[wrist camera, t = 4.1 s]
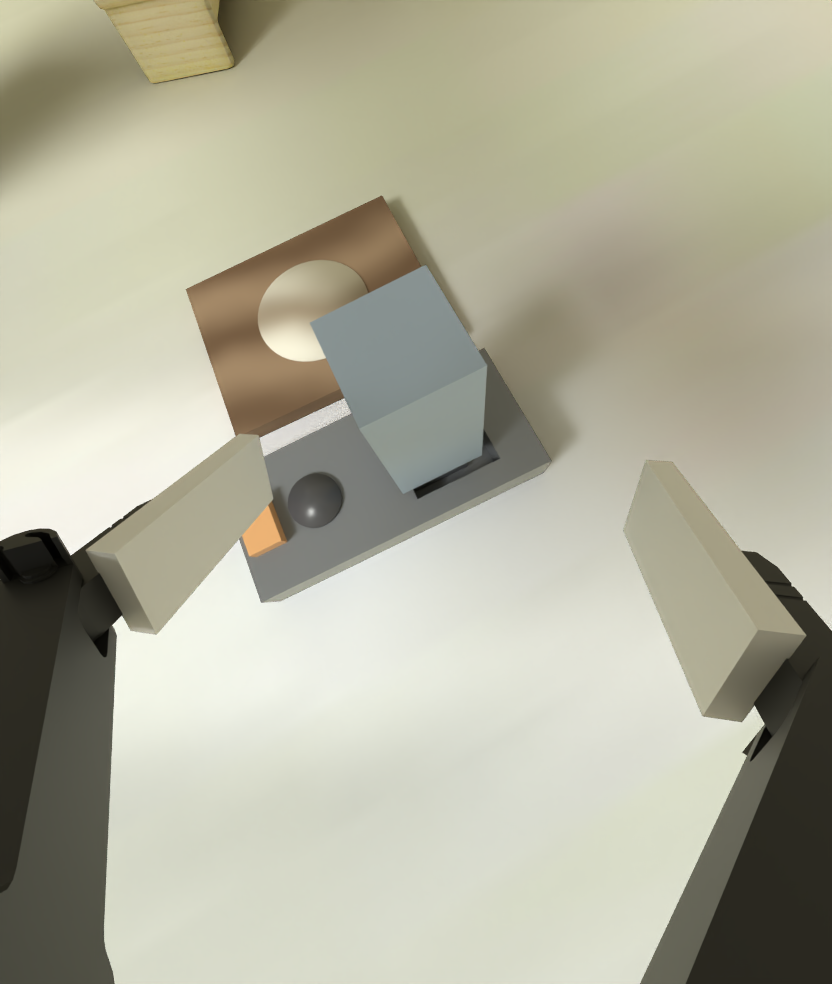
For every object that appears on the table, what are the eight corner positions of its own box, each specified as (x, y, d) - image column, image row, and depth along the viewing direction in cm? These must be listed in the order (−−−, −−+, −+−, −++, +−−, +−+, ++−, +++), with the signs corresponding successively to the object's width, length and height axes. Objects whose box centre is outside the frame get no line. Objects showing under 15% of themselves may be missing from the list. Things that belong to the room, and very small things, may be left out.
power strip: (284, 600, 26) (254, 603, 22) (244, 490, 28) (210, 475, 24) (541, 475, 26) (554, 456, 22) (482, 373, 28) (484, 340, 24)
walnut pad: (196, 300, 31) (184, 288, 30) (385, 210, 31) (381, 194, 30) (246, 443, 28) (235, 436, 27) (458, 344, 28) (457, 332, 26)
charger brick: (379, 440, 26) (309, 322, 15) (446, 407, 26) (426, 264, 15) (410, 504, 25) (359, 429, 14) (480, 470, 25) (487, 365, 14)
